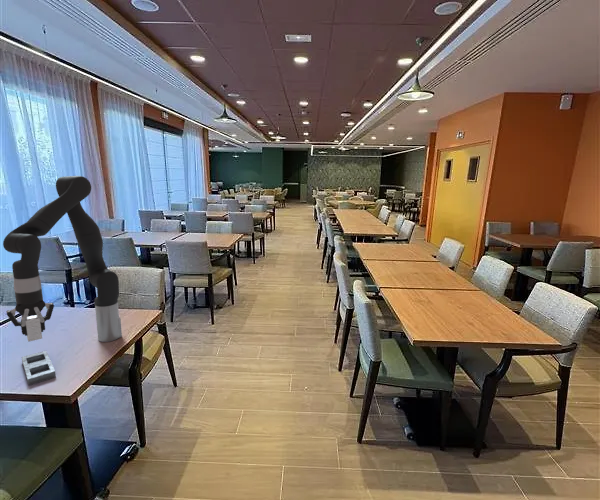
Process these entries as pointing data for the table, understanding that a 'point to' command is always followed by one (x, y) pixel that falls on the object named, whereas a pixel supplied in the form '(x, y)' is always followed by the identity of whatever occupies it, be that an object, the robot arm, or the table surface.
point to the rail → (38, 367)
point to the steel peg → (33, 328)
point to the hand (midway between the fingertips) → (34, 332)
